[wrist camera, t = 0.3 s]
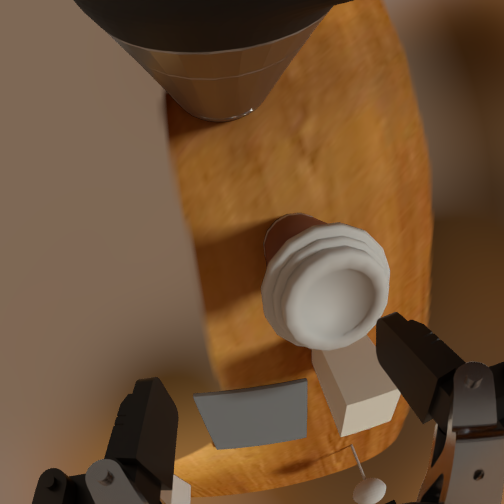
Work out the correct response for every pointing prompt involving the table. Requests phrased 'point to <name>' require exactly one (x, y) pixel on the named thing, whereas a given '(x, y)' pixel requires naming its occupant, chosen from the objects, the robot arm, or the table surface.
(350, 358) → the block
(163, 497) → the milk carton
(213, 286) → the table surface
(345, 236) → the coffee cup
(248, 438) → the mat
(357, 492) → the lollipop
